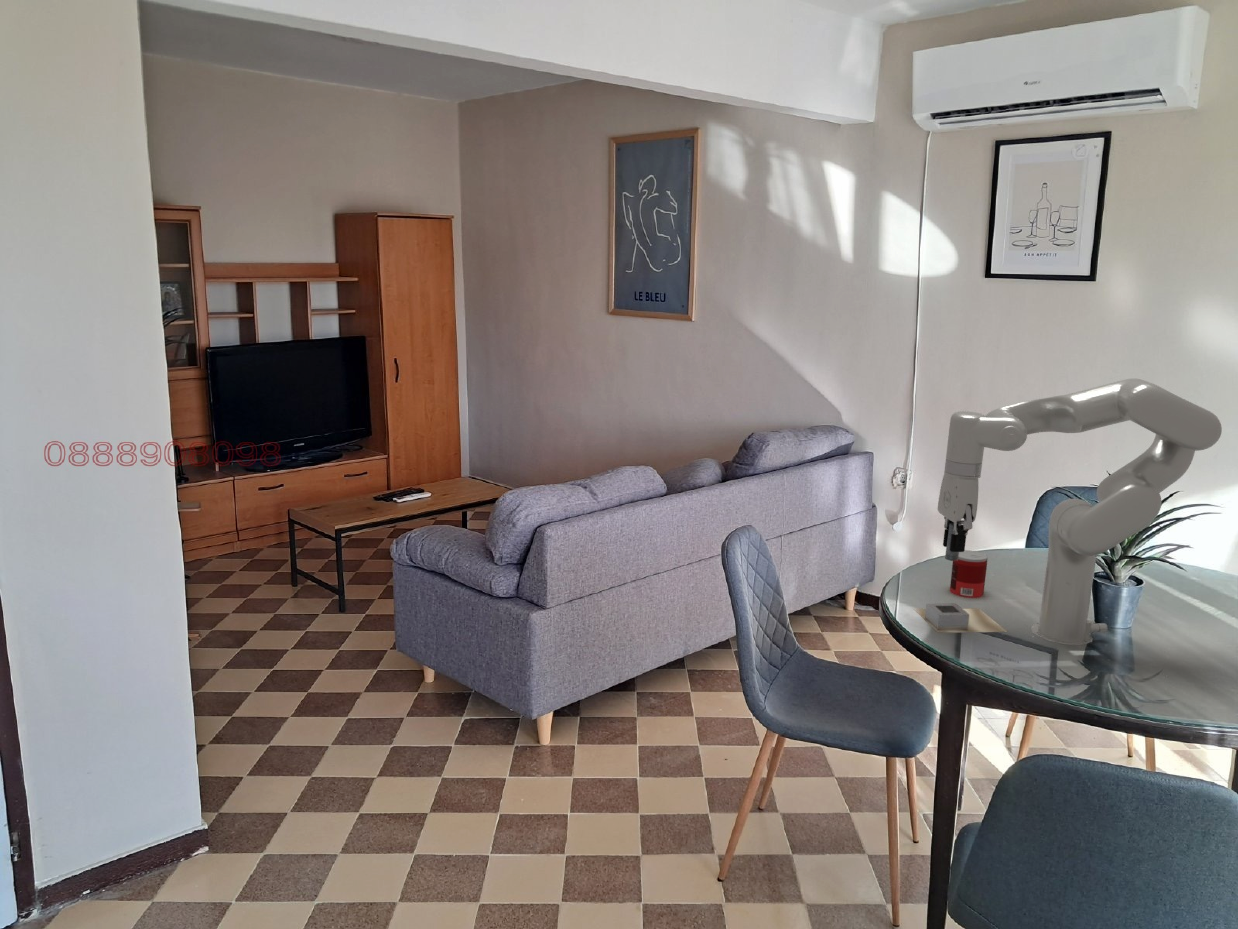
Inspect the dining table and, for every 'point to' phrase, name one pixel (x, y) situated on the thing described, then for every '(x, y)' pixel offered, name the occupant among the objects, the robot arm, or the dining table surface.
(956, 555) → the pin
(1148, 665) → the dining table surface
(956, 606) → the collar
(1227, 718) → the dining table surface
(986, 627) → the board
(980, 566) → the canned food
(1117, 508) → the robot arm
